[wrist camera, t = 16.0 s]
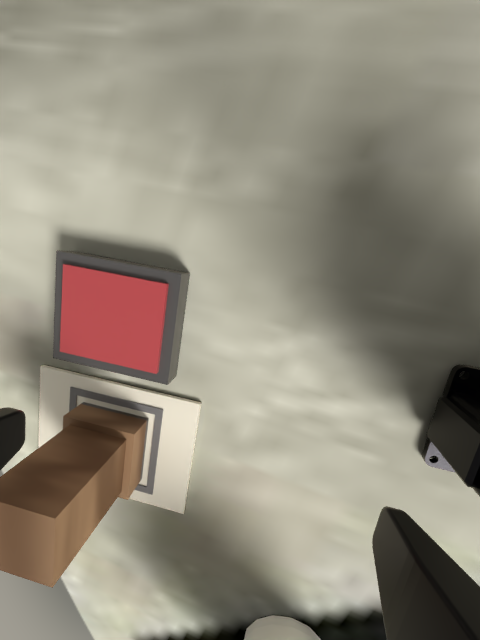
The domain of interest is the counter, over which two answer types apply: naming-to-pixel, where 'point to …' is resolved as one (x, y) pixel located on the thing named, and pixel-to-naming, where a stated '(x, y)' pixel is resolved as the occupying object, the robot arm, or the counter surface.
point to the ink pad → (119, 315)
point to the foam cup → (279, 629)
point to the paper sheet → (162, 410)
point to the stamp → (68, 490)
